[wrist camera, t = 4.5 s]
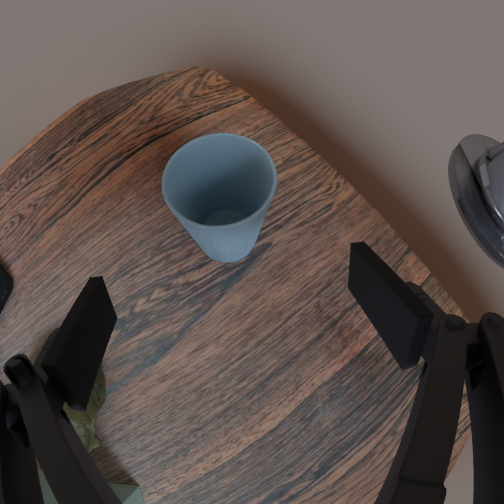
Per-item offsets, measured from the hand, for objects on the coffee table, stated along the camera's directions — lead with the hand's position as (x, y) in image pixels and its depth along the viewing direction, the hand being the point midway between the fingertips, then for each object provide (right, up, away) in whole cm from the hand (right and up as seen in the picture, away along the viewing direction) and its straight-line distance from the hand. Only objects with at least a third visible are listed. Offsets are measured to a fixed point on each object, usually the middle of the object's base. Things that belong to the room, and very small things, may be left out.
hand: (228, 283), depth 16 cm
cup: (-1, +3, +14) cm, 15 cm away
